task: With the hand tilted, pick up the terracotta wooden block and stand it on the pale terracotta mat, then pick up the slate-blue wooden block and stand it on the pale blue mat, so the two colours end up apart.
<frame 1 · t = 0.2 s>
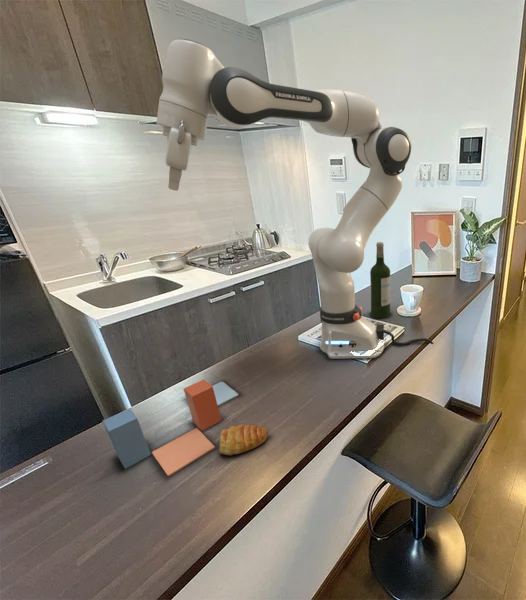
hand: (173, 188, 74), 52 cm above the countertop, tool tilted 20°, fingers open, 8 cm apart
wine bottle: (380, 314, 135), on the countertop
blue block: (134, 456, 69), on the countertop
terracotta block: (207, 421, 78), on the countertop
pastry: (241, 443, 72), on the countertop
terracotta mat: (183, 450, 70), on the countertop
blue mat: (213, 397, 86), on the countertop
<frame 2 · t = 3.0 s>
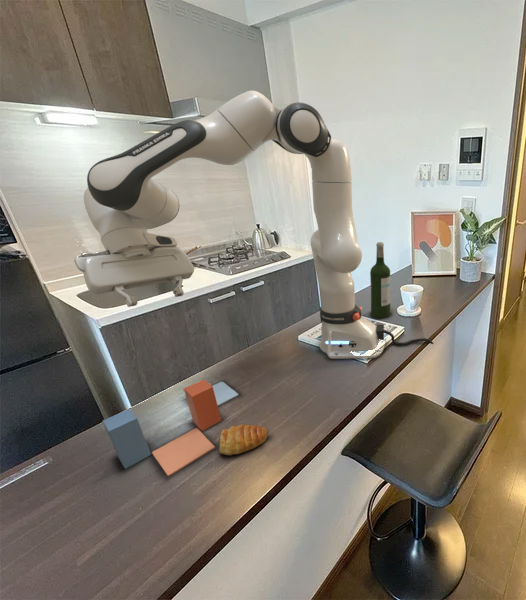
hand: (157, 300, 74), 28 cm above the countertop, tool tilted 40°, fingers open, 8 cm apart
nothing on the countertop moved.
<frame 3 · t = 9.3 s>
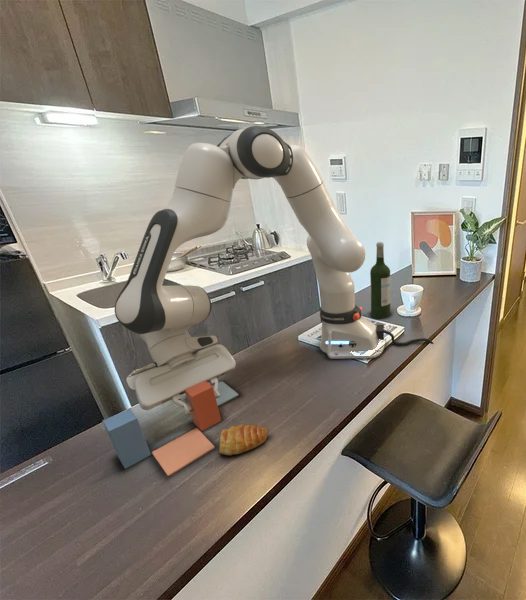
hand: (203, 404, 76), 5 cm above the countertop, tool tilted 45°, fingers closed on terracotta block, 4 cm apart
terracotta block: (207, 421, 78), on the countertop, touching gripper
everything else where it was.
when the fingers open (6 cm above the countertop, at t = 17.1 s): terracotta block stays where it is, resting on terracotta mat.
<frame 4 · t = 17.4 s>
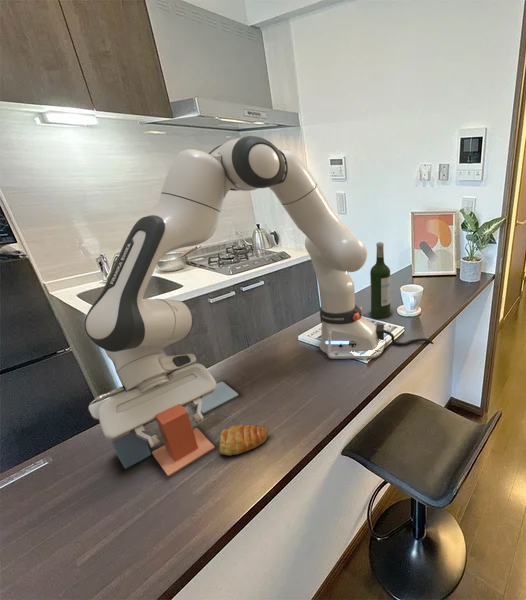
hand: (178, 432, 68), 5 cm above the countertop, tool tilted 45°, fingers open, 7 cm apart
terracotta block: (182, 449, 70), resting on terracotta mat
everything else where it was.
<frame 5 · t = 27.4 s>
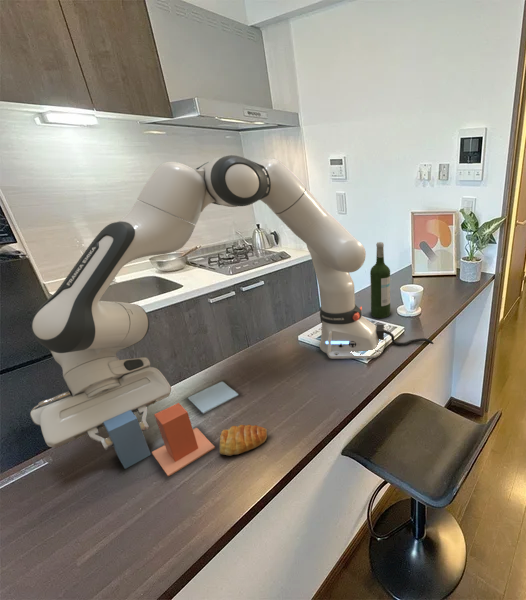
hand: (128, 438, 66), 5 cm above the countertop, tool tilted 45°, fingers closed on blue block, 4 cm apart
blue block: (134, 456, 69), on the countertop, touching gripper
everything else where it was.
when the fingers open (6 cm above the countertop, at t = 37.7 s): blue block stays where it is, resting on blue mat.
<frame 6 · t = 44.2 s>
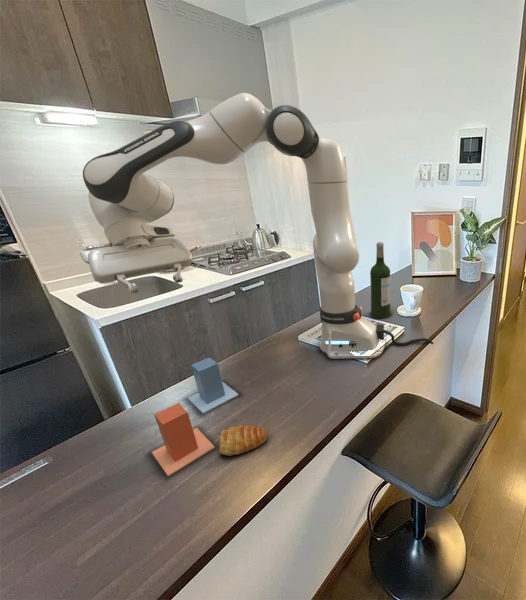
hand: (158, 286, 79), 29 cm above the countertop, tool tilted 45°, fingers open, 8 cm apart
blue block: (212, 396, 86), resting on blue mat
everything else where it was.
at the end: terracotta block inside the target area on the terracotta mat (0.1 cm from its centre), point 0.4 cm above the terracotta mat's base; blue block inside the target area on the blue mat (0.1 cm from its centre), point 0.4 cm above the blue mat's base; blue block tilted 0° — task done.
